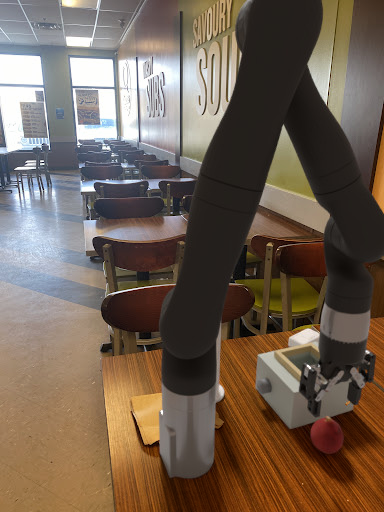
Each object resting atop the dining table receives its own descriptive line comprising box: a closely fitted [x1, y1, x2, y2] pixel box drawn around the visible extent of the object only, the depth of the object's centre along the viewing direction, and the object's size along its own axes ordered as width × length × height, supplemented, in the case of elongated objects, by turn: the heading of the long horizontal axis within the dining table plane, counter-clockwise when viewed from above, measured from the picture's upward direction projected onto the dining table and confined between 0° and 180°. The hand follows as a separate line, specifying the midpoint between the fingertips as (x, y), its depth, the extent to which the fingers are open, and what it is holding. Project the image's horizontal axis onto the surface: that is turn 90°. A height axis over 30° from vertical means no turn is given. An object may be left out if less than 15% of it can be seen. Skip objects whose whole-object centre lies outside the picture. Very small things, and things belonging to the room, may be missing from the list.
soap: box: [288, 328, 320, 347], centre depth 110 cm, size 9×6×3 cm, turn 128°
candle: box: [215, 323, 225, 404], centre depth 86 cm, size 7×7×25 cm
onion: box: [310, 416, 344, 455], centre depth 73 cm, size 6×6×8 cm
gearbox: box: [254, 342, 354, 430], centre depth 87 cm, size 18×14×10 cm
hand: (333, 407), depth 71 cm, fingers open, 8 cm apart
